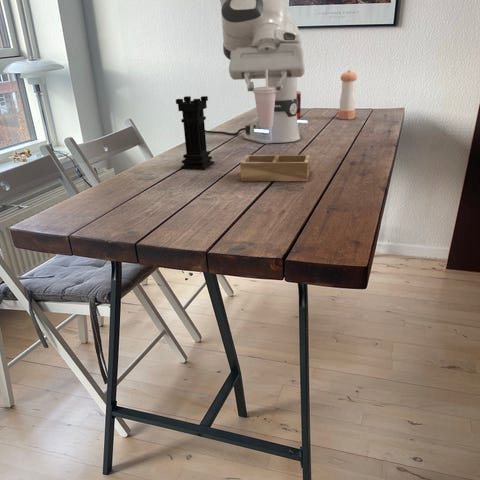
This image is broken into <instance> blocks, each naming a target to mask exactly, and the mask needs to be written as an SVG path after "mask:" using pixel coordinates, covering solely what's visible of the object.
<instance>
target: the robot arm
mask: <svg viewBox="0 0 480 480" xmlns="http://www.w3.org/2000/svg"><path fill="white" fill-rule="evenodd" d="M219 2H220V6H221V9H220V12H221V13H220V14H221V27H222V40H223V42H222V52H223V54H224V56H225V57H226V59H228V60H229V66H228V72H229V77H230V78H231V79H232V80H234V81H235V80H237V81H238V80H244V81H245V84H246V85H247V86H246V88H247V92H253V88H255V85H254V81H251V80H261V79H266V70H268V87H276V88H277V89H276V90H277V92H276V95H275V106H274V117H273V126H272V127H266V128H262V127H259V122H258V115H257V116H255V117H254V118H253V119H252V120H251V122H250V124H247V125H245V126H244V127H242V128H239V129H238V130H237V131H236V132H227V131H218V130H216V131H215V130H207V129H205V134H222V135H227V136H237V135H239V133H240V132H242V131H245V134H244V135H243V138H244V139H246V140H249V141H253V142H257V143H260V144H282V143H283V144H285V143H293V142H296V141H299V140H301V135H300V131H299V130H300V129H299V123H304V124H308V120H303V119H302V120H301V119H298V118H297V109H298V99H297V91H298V90H297V89H298V87H297V86H298V85H297V84H298V83H297V82H298V78H302V77H303V76H304V75H305V55H304V48H303V46H302V40H301V33H300V29H299V27H298V25H297V23H296V20H295V19H294V17H293V15H292V13H291V10H290V8H289V7H288V5H287V0H219Z"/></svg>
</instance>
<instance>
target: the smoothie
mask: <svg viewBox="0 0 480 480" xmlns="http://www.w3.org/2000/svg"><path fill="white" fill-rule="evenodd" d="M276 89H277V88H276V87H268V70H266V78H265V86H258V87H254V88H253V91H252V93H254V102H255V108H256V114H257V116H258V122H259V127H262V128H266V127H272V126H273V117H274V106H275V95H276V92H277V90H276Z"/></svg>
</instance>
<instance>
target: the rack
mask: <svg viewBox="0 0 480 480" xmlns="http://www.w3.org/2000/svg"><path fill="white" fill-rule="evenodd" d="M310 164H311V155H310V154H246V155H244V157H243V159H242V160H241V161H240V163H239V167H240V182H308V180H309V176H310V166H311V165H310Z"/></svg>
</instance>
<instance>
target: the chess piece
mask: <svg viewBox="0 0 480 480" xmlns="http://www.w3.org/2000/svg"><path fill="white" fill-rule="evenodd" d="M208 101H209V98H208V95H203V96H200V98H194V99H192V96H191V95H188V96H187V95H186V96H183V98H177V99H175V105H177V108H178V112H182V118H181V123H183V130H184V131H183V134H184V142H185V153H184V154H183V155H182V157H183V160H181V164H182V165H181V166H180V169H181V170H195V171H197V170H198V171H199V170H200V171H205V170H207V169H208V168H209V167H211V166H213V165H215V160H213V156H212V155H211V151H210V150H207V139H206V138H207V137H206V132H205V130H206V125H205V124H206V123H205V121H206V120H207V117H206V116H205V112H204V110H206V109H207V108H208V107H207V102H208Z"/></svg>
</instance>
